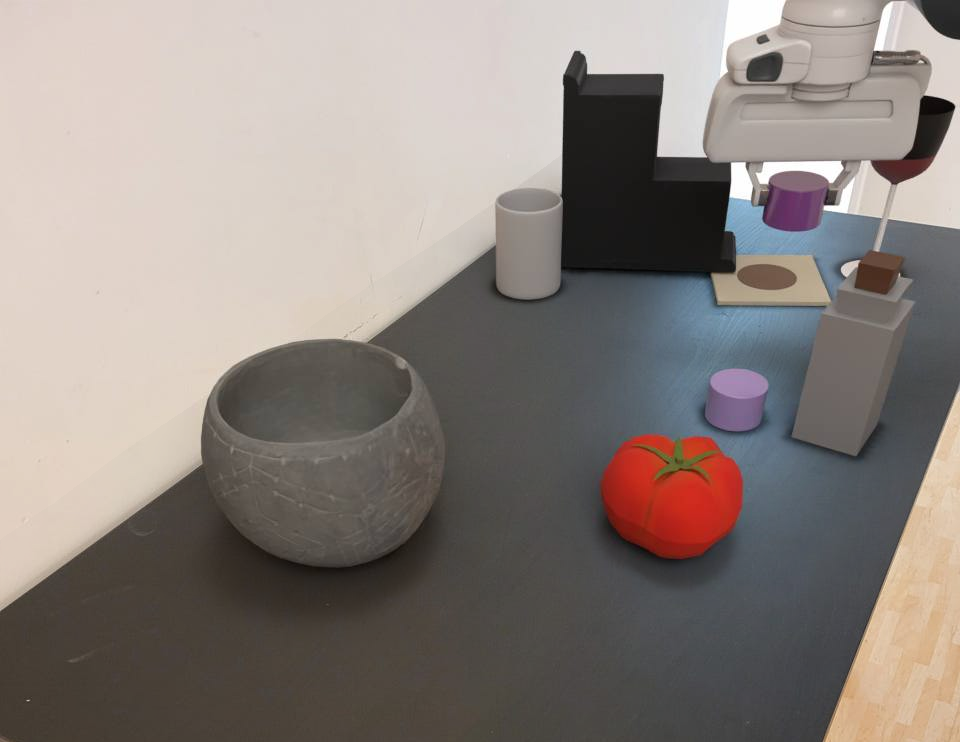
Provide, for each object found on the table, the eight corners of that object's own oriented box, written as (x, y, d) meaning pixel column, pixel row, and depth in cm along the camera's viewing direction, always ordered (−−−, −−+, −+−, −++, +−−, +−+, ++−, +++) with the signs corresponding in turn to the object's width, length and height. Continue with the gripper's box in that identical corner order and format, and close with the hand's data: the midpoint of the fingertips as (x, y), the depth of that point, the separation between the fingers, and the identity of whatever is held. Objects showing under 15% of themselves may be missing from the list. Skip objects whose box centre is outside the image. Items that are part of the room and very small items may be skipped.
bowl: (186, 524, 89) (142, 383, 79) (365, 441, 99) (347, 305, 88) (305, 641, 78) (272, 494, 67) (495, 535, 87) (493, 391, 76)
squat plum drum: (814, 209, 101) (823, 170, 98) (825, 231, 96) (834, 191, 94) (758, 209, 101) (764, 170, 98) (766, 232, 97) (773, 192, 94)
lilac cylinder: (757, 401, 102) (764, 368, 99) (765, 432, 98) (772, 398, 95) (702, 401, 102) (707, 367, 100) (707, 431, 98) (712, 397, 95)
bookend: (735, 241, 130) (761, 46, 114) (735, 274, 123) (763, 71, 106) (568, 238, 134) (570, 50, 118) (559, 271, 127) (559, 74, 110)
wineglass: (909, 286, 120) (961, 115, 106) (839, 283, 122) (882, 114, 107) (900, 260, 126) (948, 94, 112) (833, 258, 127) (872, 93, 113)
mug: (557, 301, 120) (560, 214, 112) (491, 298, 121) (490, 211, 114) (565, 262, 129) (568, 178, 121) (504, 260, 130) (503, 176, 122)
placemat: (811, 259, 127) (812, 254, 127) (830, 306, 117) (831, 300, 117) (706, 258, 128) (707, 253, 128) (717, 305, 118) (718, 300, 118)
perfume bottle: (791, 437, 97) (832, 265, 84) (814, 407, 101) (857, 239, 88) (856, 456, 94) (909, 282, 82) (876, 425, 98) (930, 254, 85)
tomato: (773, 549, 84) (793, 468, 78) (661, 598, 80) (673, 516, 74) (678, 473, 93) (689, 394, 87) (572, 514, 89) (576, 434, 83)
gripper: (928, 40, 89) (888, 191, 99) (711, 45, 91) (693, 194, 101) (947, 58, 85) (903, 214, 95) (719, 63, 86) (699, 217, 96)
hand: (793, 204), depth 98 cm, fingers closed on squat plum drum, 6 cm apart
